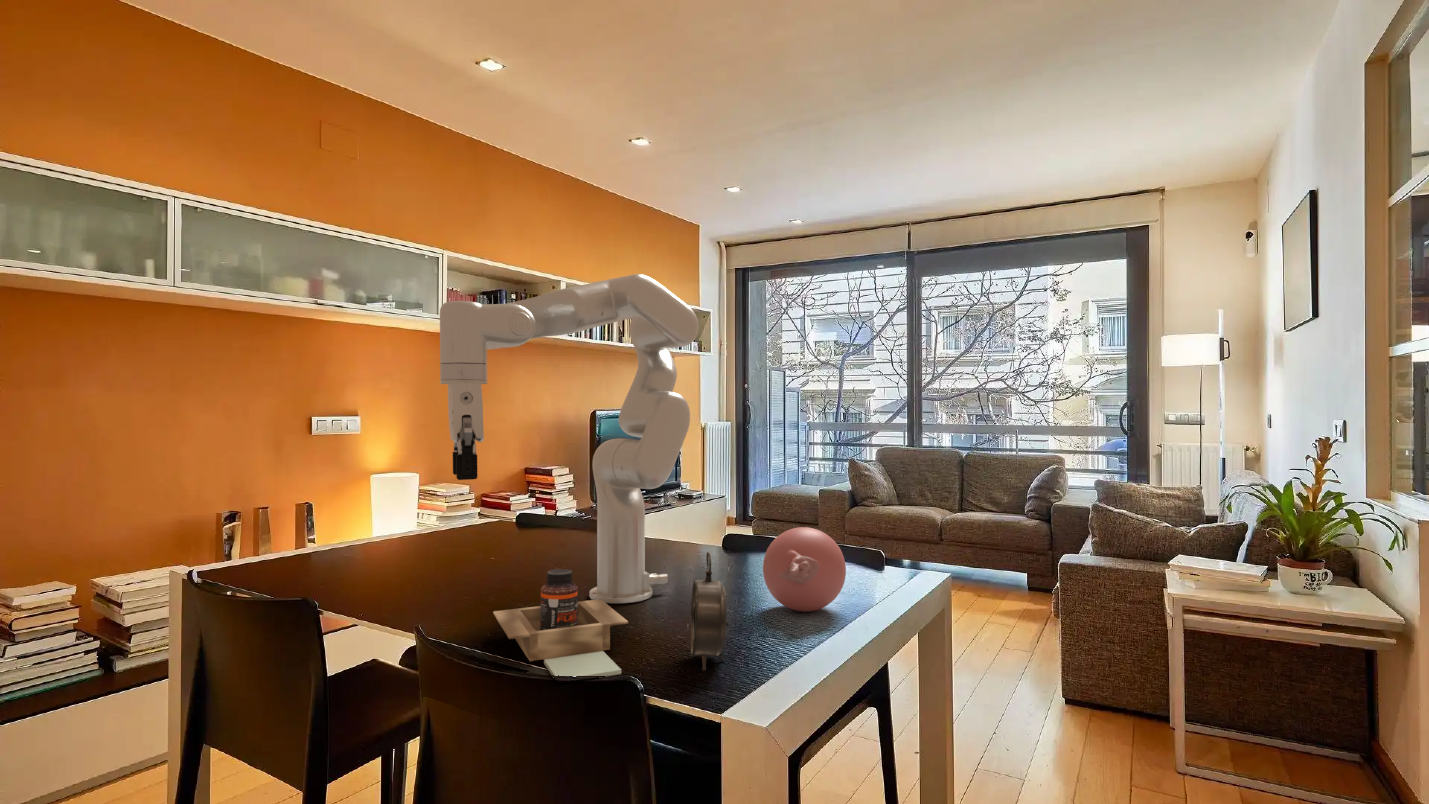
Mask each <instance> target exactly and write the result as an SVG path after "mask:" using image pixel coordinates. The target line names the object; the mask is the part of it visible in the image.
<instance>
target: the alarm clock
mask: <svg viewBox="0 0 1429 804" xmlns="http://www.w3.org/2000/svg"><path fill="white" fill-rule="evenodd" d="M705 557H706V571H705V579H694V580H693V584H692V589H691V601H690V603H691V604H690V627H689V628H690V632H689V633H690V635H689V639H690V640H689V643H690V644H689V645H690V653H691V656H692V657H701V664H702V667H701V671H702V672H705V671H707V666H706V665H707V657H718V656H719V657H720V658H721V659H722V660H723V661H725V659H724V657H723V655H722V652H723V649H724V646H725V642H726V634H727V633H726V632H727V627H728V626H729V625H730V624H729V623H730V622H728V621H727V616H728V615H727V613H728V611H727V598H728V596H727V593H726V588H725V586H724V585H723V583H722V582H721V581H720V580H717V579H716V580H715V579H714V580H713V579H712V574H713V572H712V557H711V553H710V551H707V552H706V556H705Z"/></svg>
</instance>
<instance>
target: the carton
mask: <svg viewBox="0 0 1429 804" xmlns="http://www.w3.org/2000/svg"><path fill="white" fill-rule="evenodd" d="M540 607H541V605H538V606H536V605H535V606H529V607H520V608H513V609H503V610H501V609H500V610H494V611H492V613H493V615H494V617H495V618H496V620H497V622H498V624H499V625H500V627H501V628H502V630H503V632H504V633H505V635H506V637H507V638H508V640H514V639H515V641H516V642H517V644H518V645H519V647H520V649H521V650H522V652H523V653H524V655H525V657H527V659H528V660H529V662H534V661H541V660H544V659H551V658H557V657H564V656H571V655H578V654H585V653H592V652H598V651H610V650H611V641H610V640H611V627H612V626H618V625H626V624H629V621H628V620H627V619H626V618H625V617H624V616H622V615H621V614H620V613H618V612H617V611H616V610H615V609H613V608H612V607H611V606H610V605H608V603H605V602H604V601H602V600H601V599H597V600H592V599H589V600H582V601H581V600H579V601H578V617H577V618H578V623H577V624H578V626H572V627H564V628H556V629H549V630H541V631H540V611H541V610H540Z"/></svg>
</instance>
